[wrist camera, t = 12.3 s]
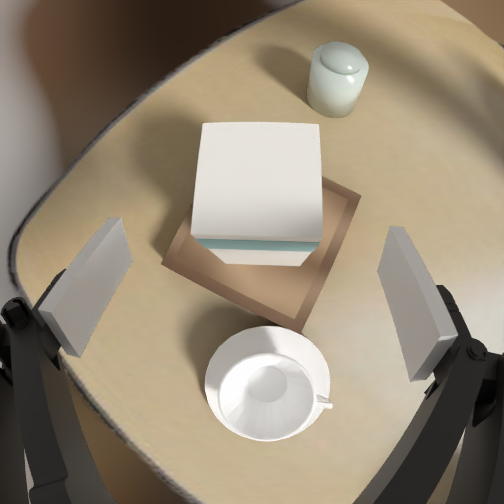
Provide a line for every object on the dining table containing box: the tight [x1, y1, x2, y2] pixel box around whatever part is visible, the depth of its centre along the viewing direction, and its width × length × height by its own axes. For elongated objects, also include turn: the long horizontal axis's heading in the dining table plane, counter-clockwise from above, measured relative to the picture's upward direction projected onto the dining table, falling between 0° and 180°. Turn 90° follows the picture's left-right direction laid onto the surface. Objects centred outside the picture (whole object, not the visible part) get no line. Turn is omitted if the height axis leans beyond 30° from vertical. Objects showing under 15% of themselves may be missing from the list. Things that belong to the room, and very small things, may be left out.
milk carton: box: [191, 122, 323, 266], centre depth 21 cm, size 7×7×12 cm
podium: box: [161, 177, 361, 334], centre depth 29 cm, size 14×14×3 cm
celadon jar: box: [307, 41, 369, 118], centre depth 28 cm, size 6×6×8 cm
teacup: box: [205, 326, 333, 441], centre depth 25 cm, size 12×12×5 cm
